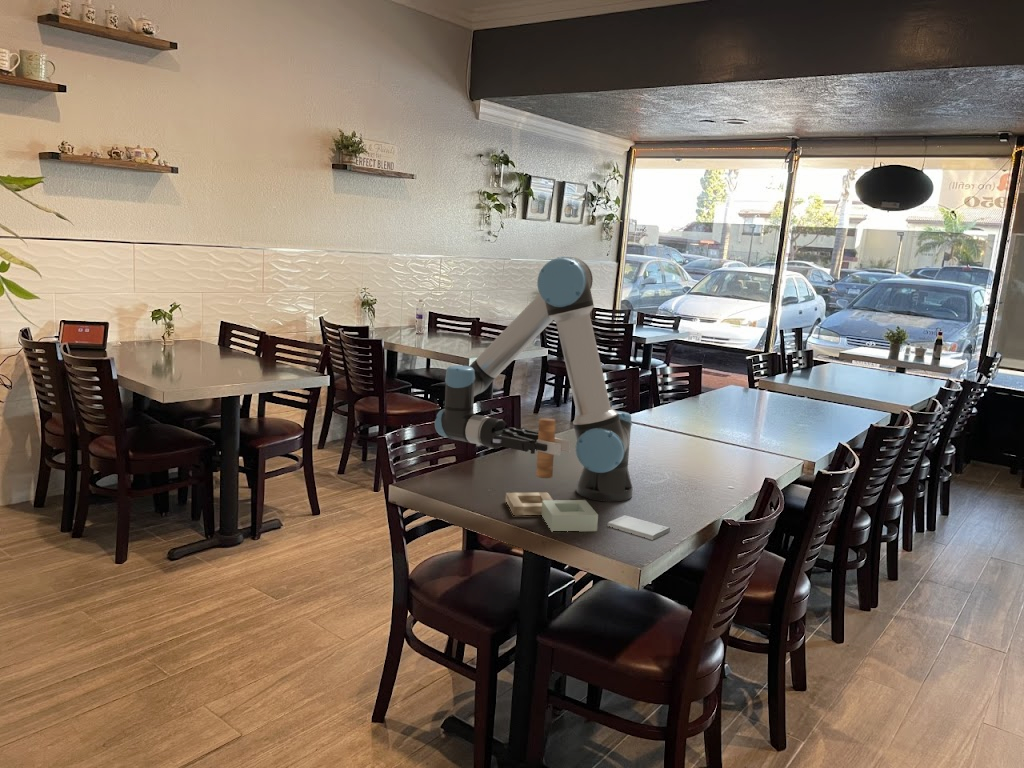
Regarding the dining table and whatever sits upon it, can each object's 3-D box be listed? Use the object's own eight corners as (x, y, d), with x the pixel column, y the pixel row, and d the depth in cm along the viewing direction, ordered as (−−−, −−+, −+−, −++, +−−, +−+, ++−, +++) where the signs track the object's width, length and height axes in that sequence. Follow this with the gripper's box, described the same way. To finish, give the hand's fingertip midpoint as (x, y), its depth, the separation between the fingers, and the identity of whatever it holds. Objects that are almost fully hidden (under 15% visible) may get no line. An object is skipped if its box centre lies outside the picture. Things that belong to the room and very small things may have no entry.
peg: (550, 473, 195) (553, 418, 192) (553, 478, 191) (557, 422, 188) (534, 473, 194) (537, 418, 192) (537, 478, 190) (540, 421, 188)
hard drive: (670, 527, 187) (625, 514, 194) (653, 535, 180) (607, 521, 188) (669, 533, 187) (625, 520, 195) (652, 542, 181) (607, 528, 188)
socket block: (584, 515, 195) (585, 500, 194) (596, 531, 184) (598, 514, 184) (541, 516, 193) (542, 500, 192) (551, 531, 182) (552, 515, 182)
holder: (547, 501, 204) (547, 492, 204) (556, 515, 194) (557, 506, 193) (505, 502, 202) (505, 492, 202) (513, 516, 192) (513, 506, 191)
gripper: (506, 440, 209) (582, 456, 195) (466, 451, 195) (544, 470, 182) (507, 412, 207) (584, 427, 194) (467, 422, 194) (546, 438, 180)
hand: (564, 448), depth 188 cm, fingers closed on peg, 4 cm apart
